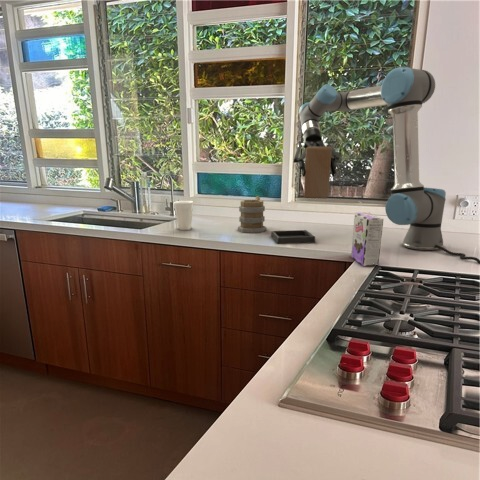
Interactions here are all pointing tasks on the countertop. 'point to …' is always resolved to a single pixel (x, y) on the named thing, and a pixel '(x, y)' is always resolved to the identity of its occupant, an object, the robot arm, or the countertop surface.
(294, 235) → the dark grey square tray
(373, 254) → the candy box
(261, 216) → the tankard
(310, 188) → the block
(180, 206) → the foam cup
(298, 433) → the countertop surface
